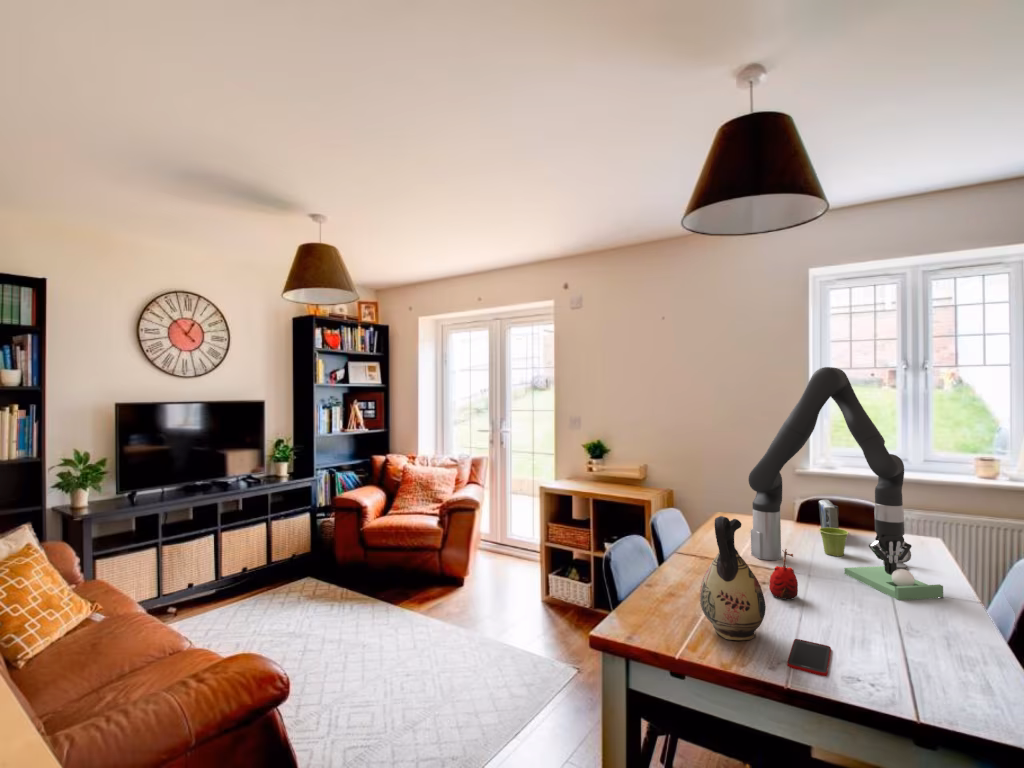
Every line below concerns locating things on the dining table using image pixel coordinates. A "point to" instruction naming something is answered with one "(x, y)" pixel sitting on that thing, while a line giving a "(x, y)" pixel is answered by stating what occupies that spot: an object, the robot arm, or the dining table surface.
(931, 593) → the green
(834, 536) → the plant pot
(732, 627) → the ceramic jug
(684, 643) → the dining table surface
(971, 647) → the dining table surface
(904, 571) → the ball
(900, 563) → the pocket watch
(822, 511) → the radio
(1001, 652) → the dining table surface
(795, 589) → the red clay folk toy
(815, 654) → the cell phone
